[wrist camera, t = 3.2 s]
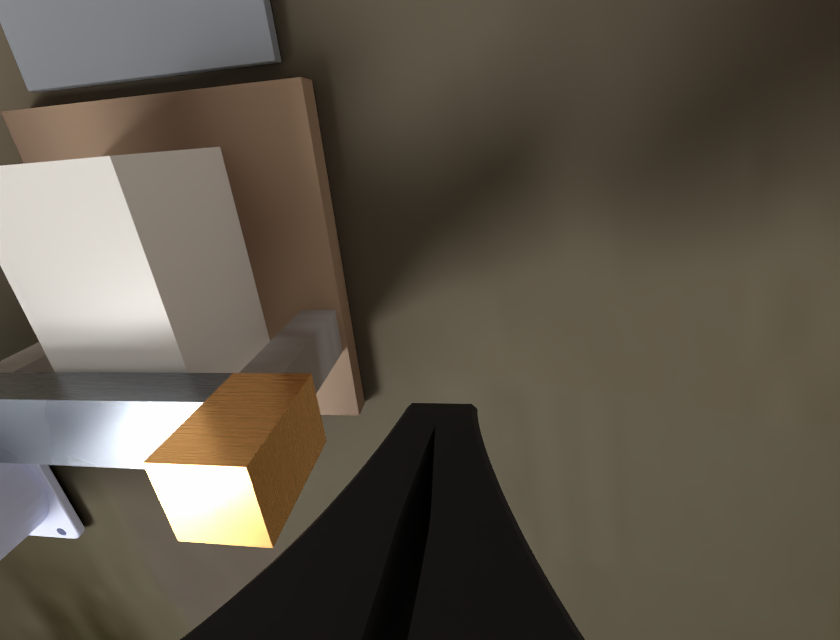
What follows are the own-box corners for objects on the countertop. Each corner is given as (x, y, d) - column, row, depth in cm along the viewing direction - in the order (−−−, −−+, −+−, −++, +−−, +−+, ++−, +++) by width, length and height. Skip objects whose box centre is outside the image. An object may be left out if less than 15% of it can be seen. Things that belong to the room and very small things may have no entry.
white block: (182, 380, 16) (96, 453, 13) (100, 157, 13) (-49, 169, 9) (280, 380, 15) (218, 457, 12) (220, 146, 12) (109, 155, 9)
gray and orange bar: (14, 431, 12) (-121, 518, 9) (-22, 372, 11) (-179, 449, 9) (326, 440, 11) (273, 548, 8) (311, 373, 10) (246, 467, 7)
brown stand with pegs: (147, 399, 18) (39, 486, 14) (26, 112, 13) (-191, 106, 9) (364, 402, 16) (322, 501, 12) (311, 79, 12) (212, 54, 8)
